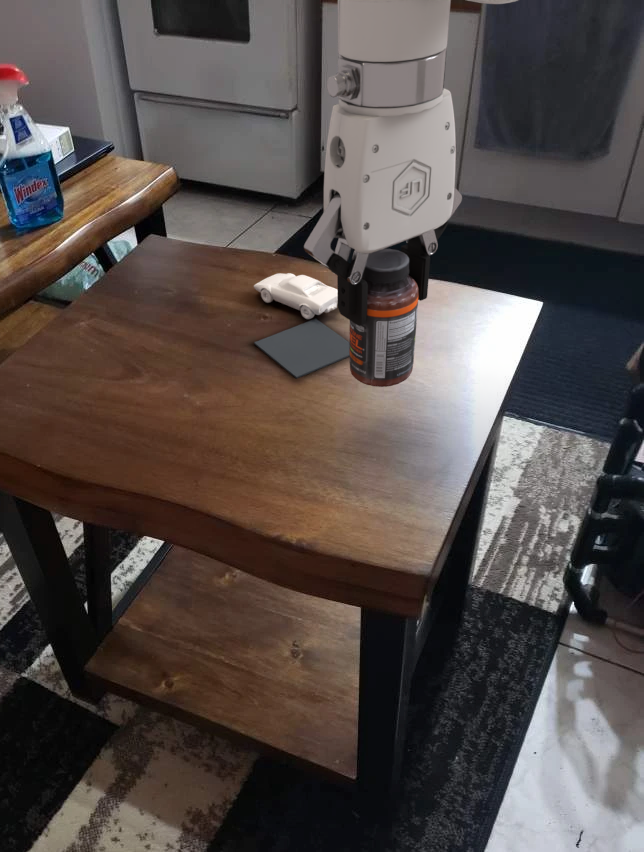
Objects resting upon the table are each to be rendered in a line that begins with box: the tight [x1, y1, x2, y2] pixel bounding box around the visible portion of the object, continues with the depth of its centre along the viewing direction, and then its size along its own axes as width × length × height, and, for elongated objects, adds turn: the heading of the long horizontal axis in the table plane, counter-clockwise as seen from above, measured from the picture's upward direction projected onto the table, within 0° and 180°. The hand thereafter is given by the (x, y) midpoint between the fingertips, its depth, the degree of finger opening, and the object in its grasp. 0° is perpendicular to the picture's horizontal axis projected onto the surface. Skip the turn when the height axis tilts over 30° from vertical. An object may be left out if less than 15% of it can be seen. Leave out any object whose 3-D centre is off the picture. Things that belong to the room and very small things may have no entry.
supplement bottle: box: [348, 248, 419, 388], centre depth 67 cm, size 6×6×11 cm
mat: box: [253, 318, 349, 379], centre depth 88 cm, size 9×9×1 cm
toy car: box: [253, 272, 338, 320], centre depth 94 cm, size 6×12×3 cm, turn 47°
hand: (383, 304), depth 66 cm, fingers closed on supplement bottle, 6 cm apart
